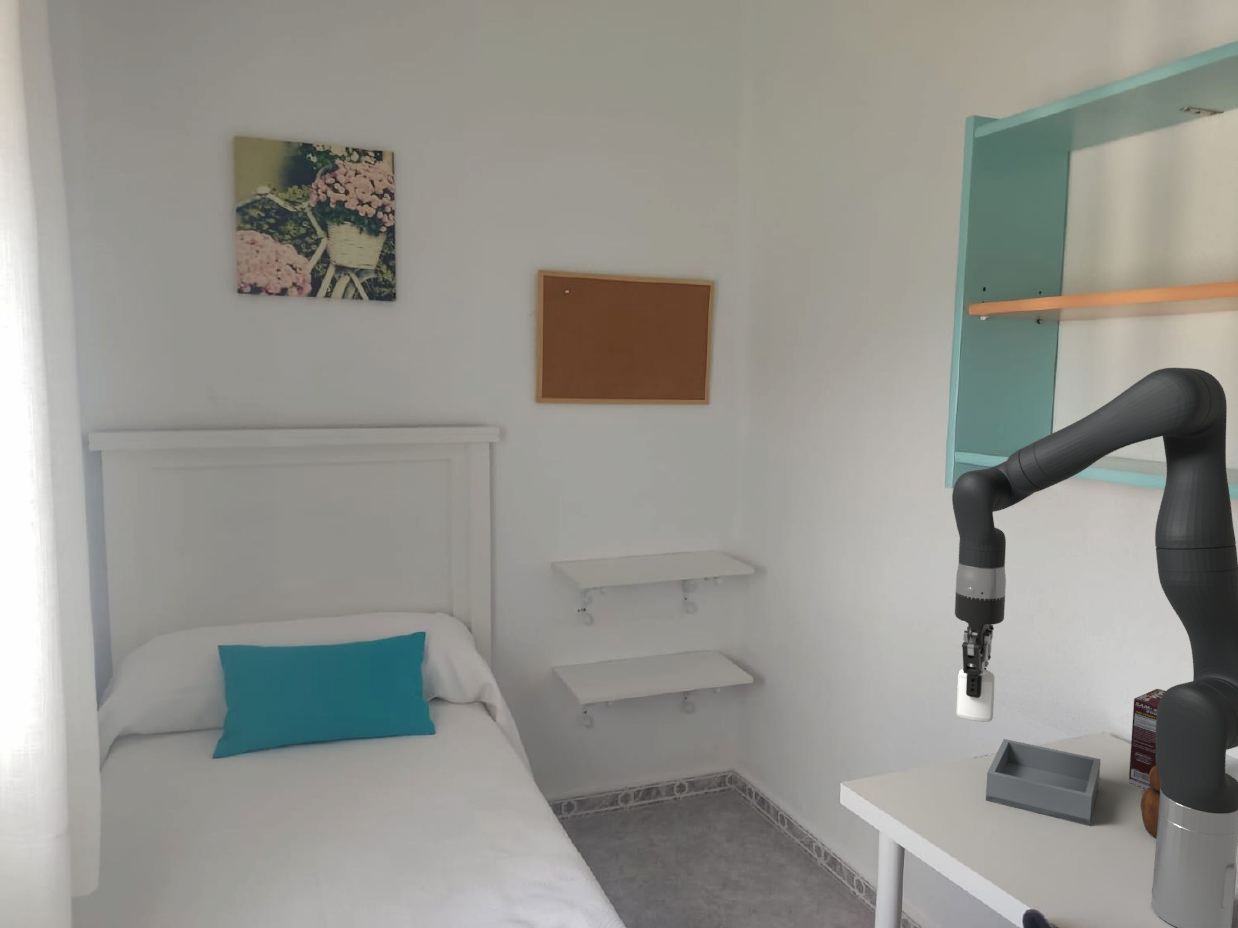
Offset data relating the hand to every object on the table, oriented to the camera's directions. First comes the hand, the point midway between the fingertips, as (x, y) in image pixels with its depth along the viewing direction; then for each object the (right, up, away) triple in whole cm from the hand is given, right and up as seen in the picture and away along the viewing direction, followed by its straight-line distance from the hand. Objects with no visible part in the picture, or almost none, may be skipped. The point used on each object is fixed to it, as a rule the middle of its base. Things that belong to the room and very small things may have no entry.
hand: (975, 691), depth 151 cm
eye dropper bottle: (0, -5, +1) cm, 5 cm away
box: (+15, -20, +9) cm, 27 cm away
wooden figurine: (+28, -22, -5) cm, 36 cm away
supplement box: (+37, -20, +13) cm, 44 cm away
